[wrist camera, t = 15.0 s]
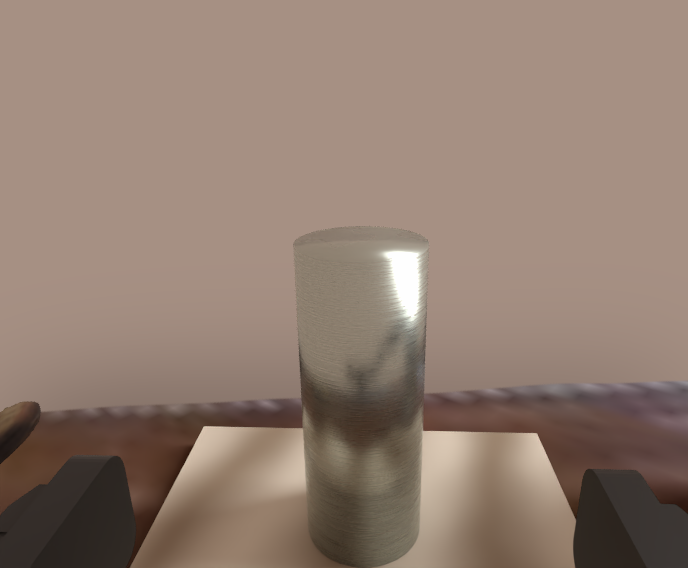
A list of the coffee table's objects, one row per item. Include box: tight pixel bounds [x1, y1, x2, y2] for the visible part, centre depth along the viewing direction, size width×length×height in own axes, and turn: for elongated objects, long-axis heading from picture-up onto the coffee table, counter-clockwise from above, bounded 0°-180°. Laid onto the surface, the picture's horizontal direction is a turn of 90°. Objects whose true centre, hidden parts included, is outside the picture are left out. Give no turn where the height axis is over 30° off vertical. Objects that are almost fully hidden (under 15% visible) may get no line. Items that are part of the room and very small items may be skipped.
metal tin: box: [293, 226, 429, 568], centre depth 22 cm, size 5×5×13 cm
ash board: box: [130, 426, 576, 568], centre depth 25 cm, size 19×14×1 cm
